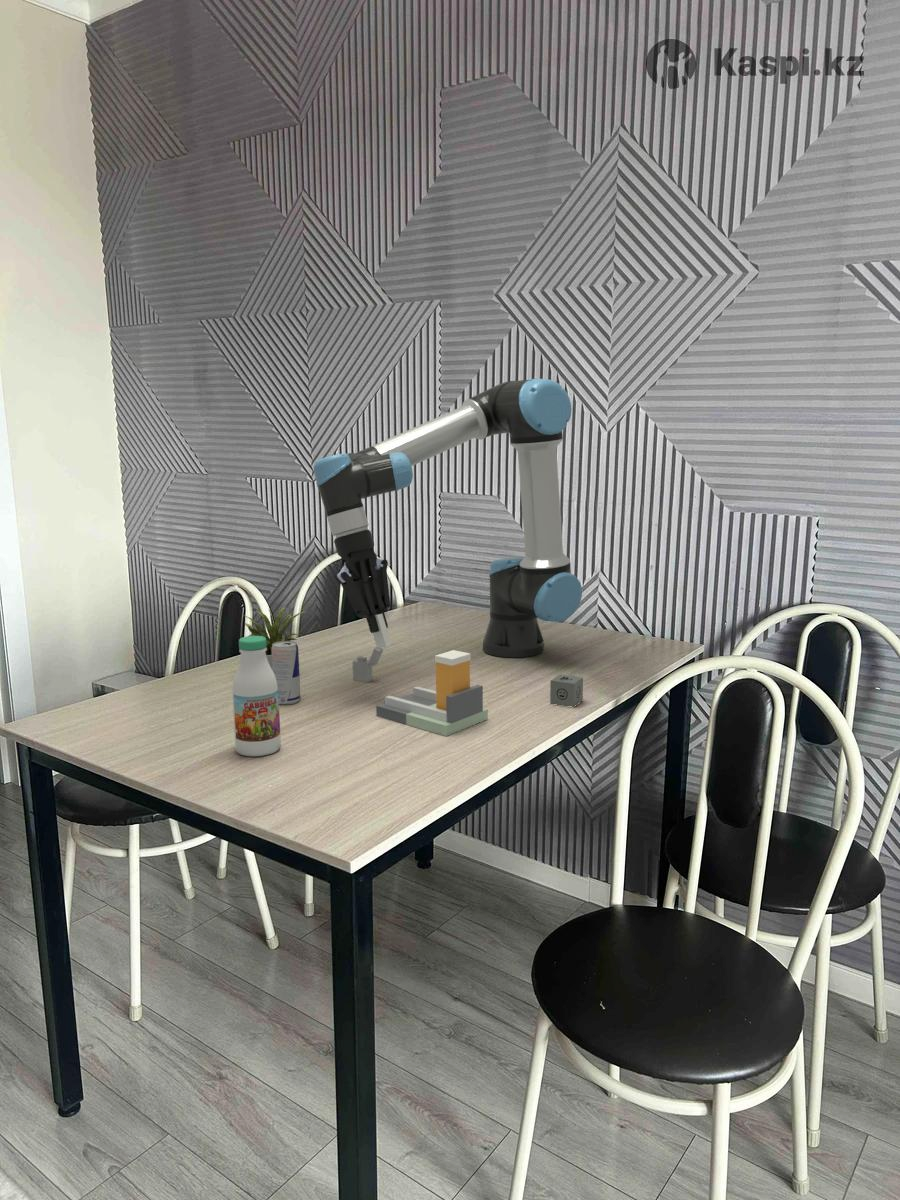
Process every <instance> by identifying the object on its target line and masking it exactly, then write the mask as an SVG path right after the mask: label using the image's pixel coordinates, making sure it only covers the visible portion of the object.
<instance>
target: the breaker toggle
mask: <svg viewBox="0 0 900 1200" xmlns="http://www.w3.org/2000/svg"><path fill="white" fill-rule="evenodd" d="M471 657H472V655H471V653H469V652H463V651H460V650H459V651H458V650H455V649H452V650H449V651H446V652H443V653H439V654H436V655H434V662H435V689H436V690H435V691H436V708H437V709H441V710H445V711H446V696H447V695H450V694H453V693H456V692H459V691H461V690H464V689H467V688H470V687H471V668H470V667H471V662H470V661H471Z"/></svg>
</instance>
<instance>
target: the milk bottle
mask: <svg viewBox="0 0 900 1200" xmlns="http://www.w3.org/2000/svg"><path fill="white" fill-rule="evenodd" d="M266 646H267V642H266V638H265V637H263V636H249V635H248V636H244V637H241V638H239V639H238V649H239V653H240V659H239V660H240V661H239V664H238V666H237V670H236V672H235V674H234V678H233V682H232V709H233V710H232V712H233V727H234V741H235V742H234V744H235V750H236V752H237V753H238V754H239V755H242V756H246V757H264V756H268V755H272V754H274V753H276V752H277V751H279V750H280V747H281V745H282V743H281V742H282V741H281V721H280V719H281V718H280V704H279V700H278V687H277V681H276V677H275V675H274V673H273V671H272V669H271V667H270V665H269V663H268V660H267V657H266V650H267V648H266Z"/></svg>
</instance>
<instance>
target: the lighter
mask: <svg viewBox="0 0 900 1200" xmlns="http://www.w3.org/2000/svg"><path fill="white" fill-rule="evenodd" d="M383 651H384V649H383V647H382V648H377V646H375V647H374V648H373V651H372V653H371V655H370V657H369V659H368V657H367V656H362V655H359V656H357V657H356V659H353V660H352V680H353V681H357V680H358V682H364V681H366V682H365V683H370V682H373V667H376V666H377V665H378V664H379V661H380V658H381V656H382V654H383Z"/></svg>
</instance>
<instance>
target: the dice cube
mask: <svg viewBox="0 0 900 1200" xmlns="http://www.w3.org/2000/svg"><path fill="white" fill-rule="evenodd" d="M549 693H550V694H549V696H550V697H549V700H550V701H549V702H550V703H549V704H550V705H551V704H557V705H556V706H558V705H564V706H572V707H574V706H575V705H577V704H578V703H579V702H581V701H582V700H584V698H583V697H584V695H583V694H584V677H583V676H577V675H569V674H562V673H560V674H557V675H556V676H555V677H554V678H551V680H550V692H549ZM582 702H583V701H582ZM582 702H581V703H582ZM579 704H580V703H579ZM579 704H578V705H579ZM578 705H577V706H578ZM564 706H563V707H564ZM574 708H575V707H574Z"/></svg>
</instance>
